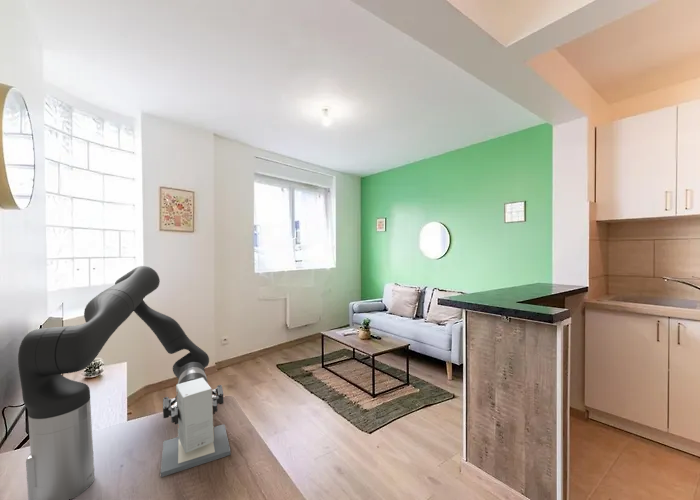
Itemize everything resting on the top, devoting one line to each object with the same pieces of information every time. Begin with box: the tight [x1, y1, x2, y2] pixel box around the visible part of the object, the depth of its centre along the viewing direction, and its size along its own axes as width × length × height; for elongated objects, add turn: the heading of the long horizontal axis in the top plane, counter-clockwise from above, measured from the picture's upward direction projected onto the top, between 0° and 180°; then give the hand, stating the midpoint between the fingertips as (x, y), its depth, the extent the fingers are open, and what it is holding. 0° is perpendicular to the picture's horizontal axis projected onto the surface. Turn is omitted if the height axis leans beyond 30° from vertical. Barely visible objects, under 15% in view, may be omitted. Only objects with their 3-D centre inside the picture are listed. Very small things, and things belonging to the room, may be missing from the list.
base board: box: [160, 423, 232, 478], centre depth 76 cm, size 14×12×1 cm
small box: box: [175, 378, 214, 453], centre depth 75 cm, size 8×6×13 cm
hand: (195, 415), depth 73 cm, fingers closed on small box, 7 cm apart
